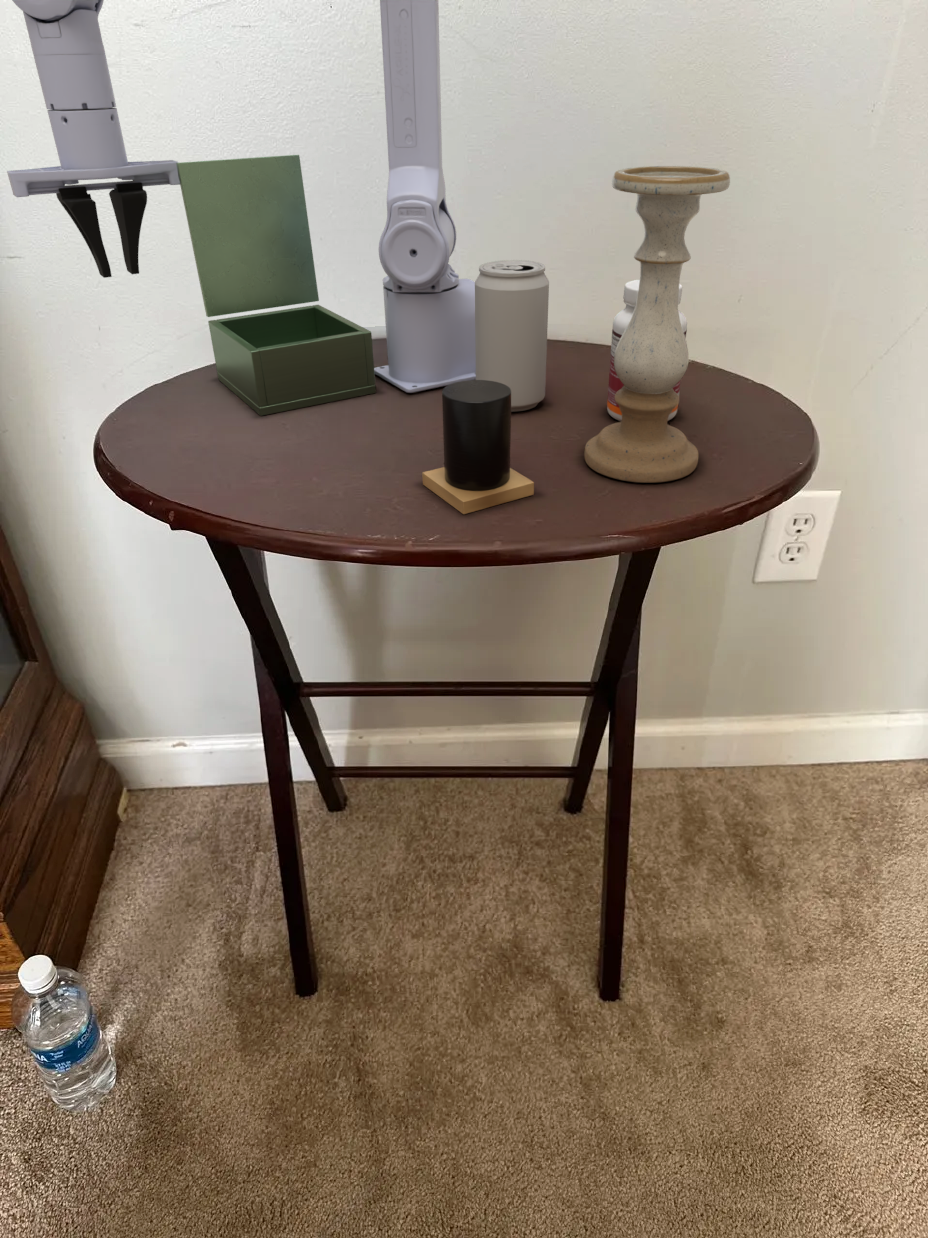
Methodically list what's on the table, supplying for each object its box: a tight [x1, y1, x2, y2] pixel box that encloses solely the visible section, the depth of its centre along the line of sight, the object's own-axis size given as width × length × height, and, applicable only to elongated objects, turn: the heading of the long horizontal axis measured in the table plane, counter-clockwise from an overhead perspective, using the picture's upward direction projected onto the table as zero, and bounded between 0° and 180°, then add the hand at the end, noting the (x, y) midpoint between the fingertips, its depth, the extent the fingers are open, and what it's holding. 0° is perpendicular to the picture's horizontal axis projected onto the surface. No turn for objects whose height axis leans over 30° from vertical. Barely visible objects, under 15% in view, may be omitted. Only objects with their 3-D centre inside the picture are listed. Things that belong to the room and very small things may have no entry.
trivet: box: [421, 466, 535, 515], centre depth 62 cm, size 6×6×1 cm
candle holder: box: [583, 165, 731, 484], centre depth 61 cm, size 9×9×20 cm
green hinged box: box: [207, 304, 377, 417], centre depth 82 cm, size 13×12×6 cm
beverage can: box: [474, 259, 550, 413], centre depth 75 cm, size 6×6×12 cm
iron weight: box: [441, 380, 512, 491], centre depth 60 cm, size 5×5×6 cm
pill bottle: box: [606, 279, 688, 422], centre depth 72 cm, size 6×6×11 cm
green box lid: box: [176, 154, 320, 318], centre depth 81 cm, size 13×12×1 cm
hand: (119, 273), depth 81 cm, fingers closed
